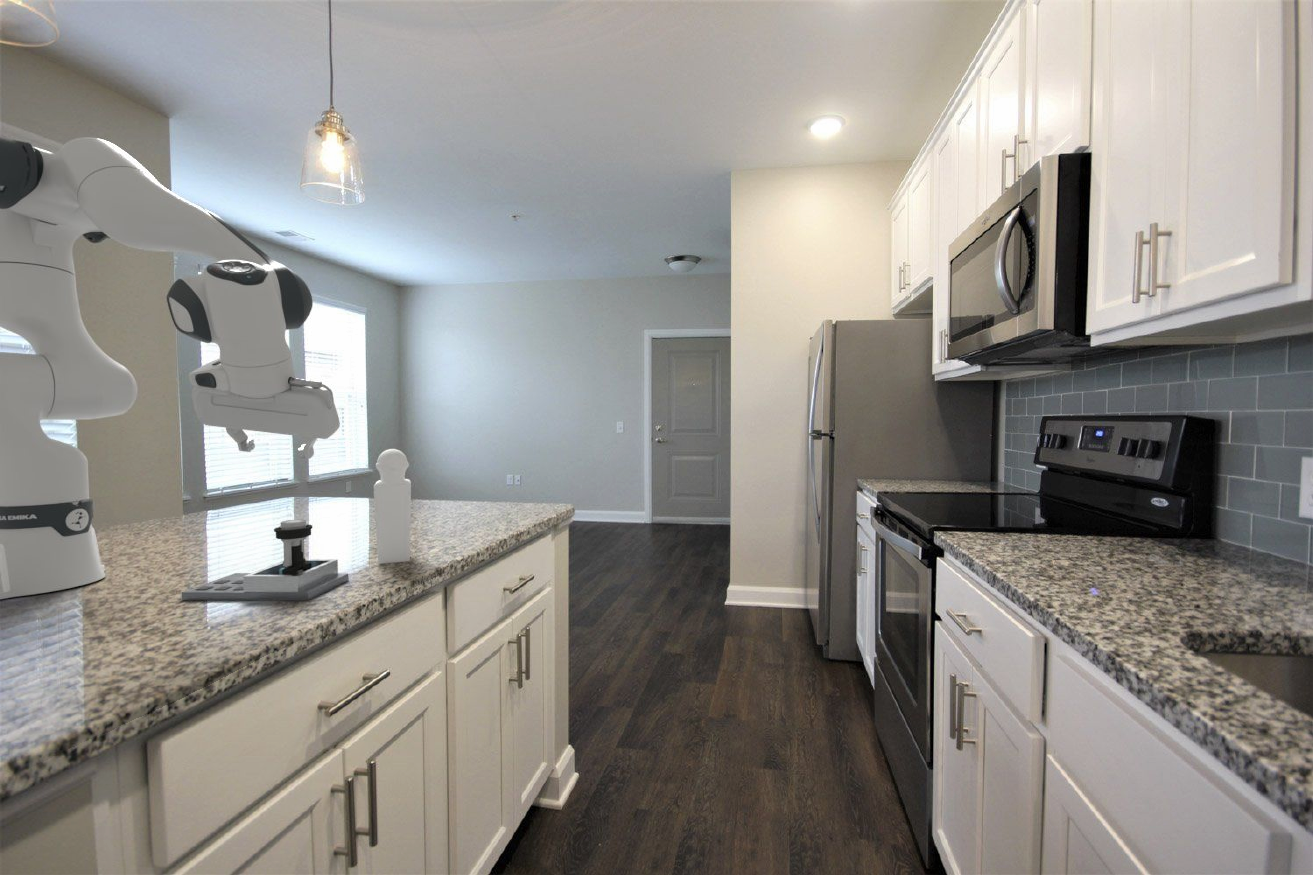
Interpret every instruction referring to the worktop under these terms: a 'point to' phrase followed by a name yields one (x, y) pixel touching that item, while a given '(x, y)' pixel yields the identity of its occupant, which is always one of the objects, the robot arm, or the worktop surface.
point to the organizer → (272, 584)
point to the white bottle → (392, 508)
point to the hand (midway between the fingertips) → (277, 453)
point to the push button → (293, 545)
